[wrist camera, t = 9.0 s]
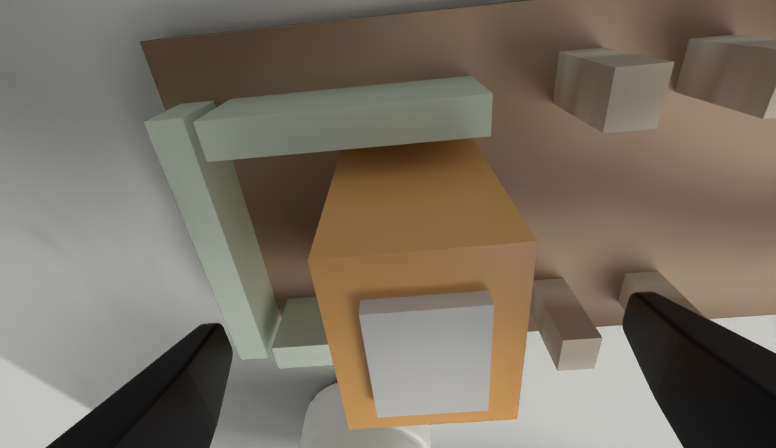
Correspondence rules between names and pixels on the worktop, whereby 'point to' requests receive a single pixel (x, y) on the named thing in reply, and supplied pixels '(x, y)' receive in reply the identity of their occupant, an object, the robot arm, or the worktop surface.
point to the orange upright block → (423, 285)
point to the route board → (547, 142)
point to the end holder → (284, 137)
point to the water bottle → (339, 444)
